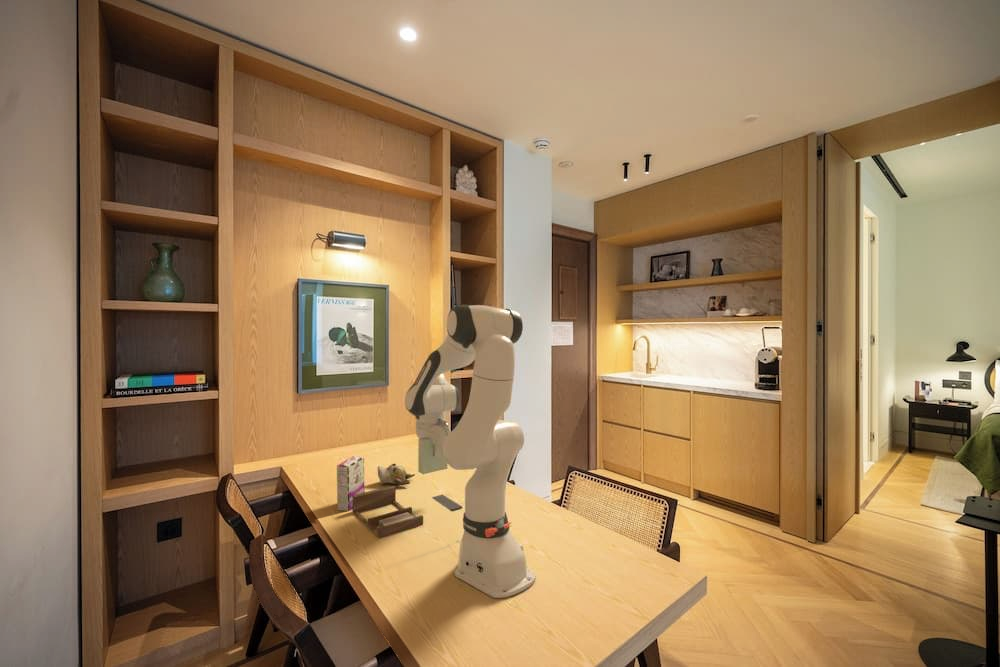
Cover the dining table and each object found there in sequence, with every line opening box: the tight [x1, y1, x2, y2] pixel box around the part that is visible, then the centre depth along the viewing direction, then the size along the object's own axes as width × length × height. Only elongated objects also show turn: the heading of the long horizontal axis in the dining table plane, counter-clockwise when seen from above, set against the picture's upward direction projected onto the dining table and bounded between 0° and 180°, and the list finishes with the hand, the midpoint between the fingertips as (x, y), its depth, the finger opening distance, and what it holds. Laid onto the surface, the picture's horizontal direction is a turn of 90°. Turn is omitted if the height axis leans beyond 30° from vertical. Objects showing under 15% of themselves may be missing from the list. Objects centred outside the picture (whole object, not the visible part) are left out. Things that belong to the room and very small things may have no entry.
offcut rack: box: [352, 485, 424, 539], centre depth 144 cm, size 24×15×7 cm, turn 38°
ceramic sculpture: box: [377, 463, 416, 486], centre depth 179 cm, size 11×9×15 cm
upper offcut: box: [378, 512, 415, 528], centre depth 138 cm, size 6×10×2 cm, turn 129°
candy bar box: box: [336, 455, 365, 512], centre depth 157 cm, size 11×5×16 cm, turn 168°
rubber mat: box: [431, 494, 463, 512], centre depth 156 cm, size 14×16×1 cm
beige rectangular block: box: [417, 437, 448, 475], centre depth 155 cm, size 4×10×12 cm, turn 128°
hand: (433, 454), depth 155 cm, fingers closed on beige rectangular block, 3 cm apart
